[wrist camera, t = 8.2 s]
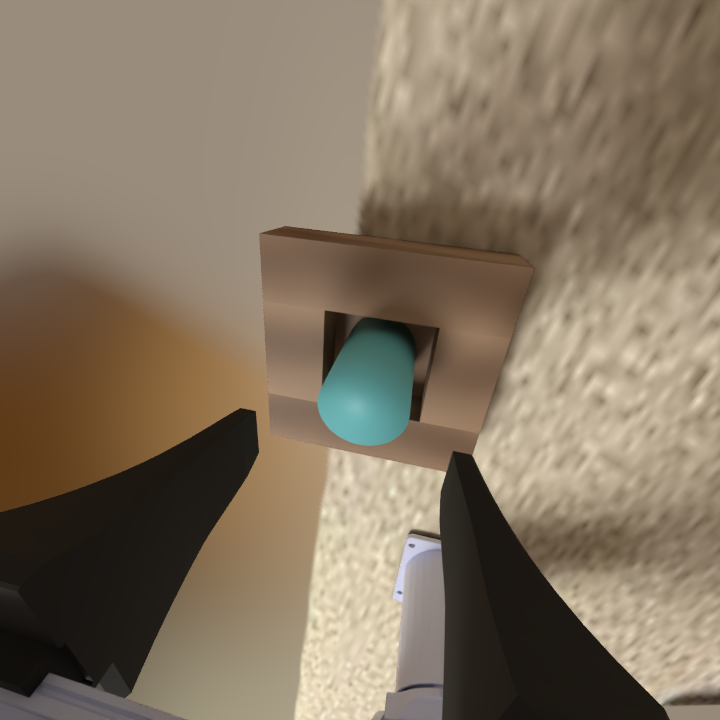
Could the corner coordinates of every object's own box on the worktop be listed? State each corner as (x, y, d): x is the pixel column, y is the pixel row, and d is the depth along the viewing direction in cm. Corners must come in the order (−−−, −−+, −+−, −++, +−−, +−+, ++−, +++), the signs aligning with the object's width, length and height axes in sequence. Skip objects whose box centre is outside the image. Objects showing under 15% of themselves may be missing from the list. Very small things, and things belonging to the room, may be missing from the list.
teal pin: (409, 382, 20) (401, 453, 15) (345, 370, 21) (316, 435, 16) (422, 321, 18) (417, 379, 13) (350, 310, 19) (319, 361, 14)
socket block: (461, 441, 22) (465, 475, 19) (288, 407, 24) (270, 435, 21) (518, 254, 16) (534, 268, 14) (285, 226, 18) (259, 233, 15)
